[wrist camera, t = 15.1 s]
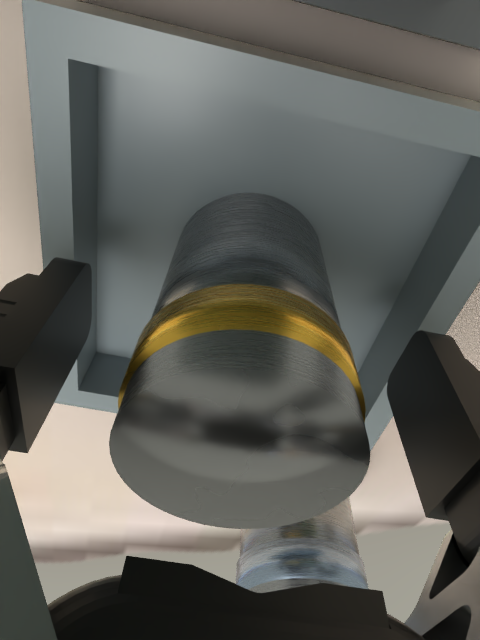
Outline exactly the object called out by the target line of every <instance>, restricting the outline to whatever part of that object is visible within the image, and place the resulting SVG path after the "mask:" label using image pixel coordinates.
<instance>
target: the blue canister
mask: <svg viewBox="0 0 480 640" xmlns="http://www.w3.org/2000/svg"><path fill="white" fill-rule="evenodd" d="M318 583H327V584H334V585H342V586H349V587H356V588H363V589H368V584H367V579H366V573H365V568H364V563H363V561H362V559H361V557H360V556H359V550H358V545H357V539H356V534H355V528H354V522H353V517H352V511H351V505H350V500H349V497H348V498H347V499H345V500H344V501H343V502H341V503H340V504H338V505H337V506H336V507H334V508H332V509H330V510H328V511H327V512H325V513H323V514H320V515H318V516H316V517H313V518H310V519H307V520H304V521H301V522H298V523H293V524H289V525H284V526H278V527H271V528H261V529H241V540H240V558H239V560H238V562H237V572H236V584H237V585H239V586H241V587H243V588H246V589H248V590H250V591H253V592H257V593H266V592H271V591H277V590H283V589H289V588H295V587H301V586H306V585H312V584H318Z"/></svg>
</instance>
